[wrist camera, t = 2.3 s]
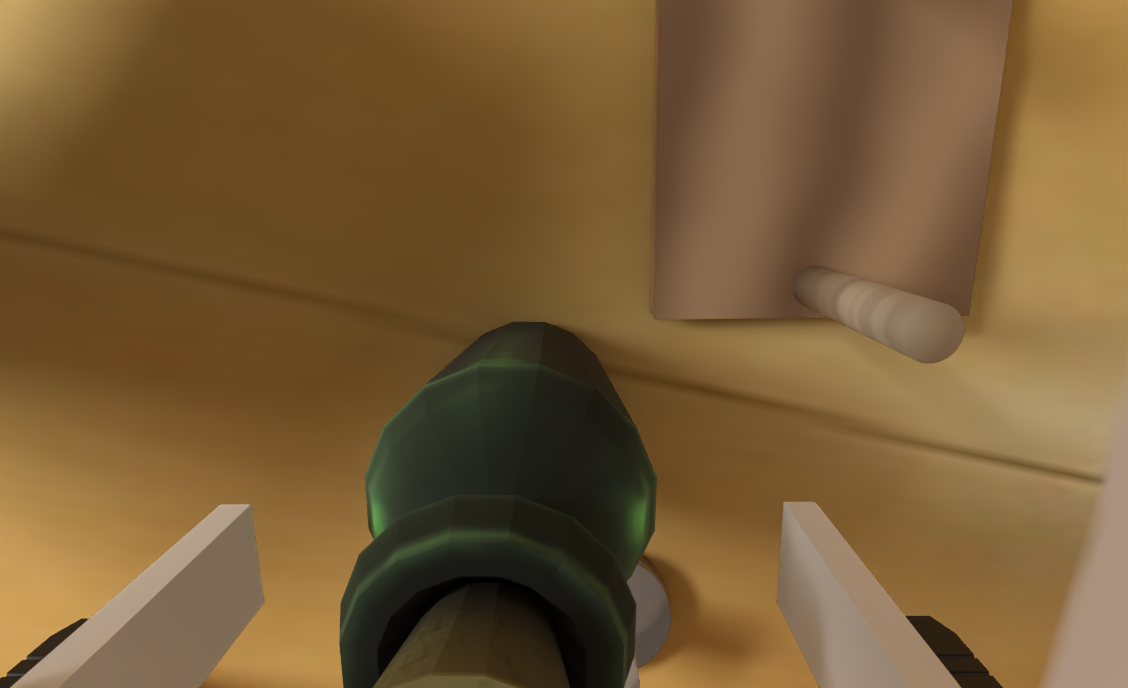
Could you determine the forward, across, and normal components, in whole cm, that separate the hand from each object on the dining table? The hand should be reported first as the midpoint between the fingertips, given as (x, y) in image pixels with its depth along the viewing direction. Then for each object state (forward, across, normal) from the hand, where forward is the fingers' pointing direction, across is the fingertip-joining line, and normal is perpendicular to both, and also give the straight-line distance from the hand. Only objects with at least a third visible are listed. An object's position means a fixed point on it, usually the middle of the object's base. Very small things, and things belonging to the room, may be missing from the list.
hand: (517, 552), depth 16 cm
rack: (+12, +10, +11) cm, 19 cm away
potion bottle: (+12, 0, 0) cm, 12 cm away
